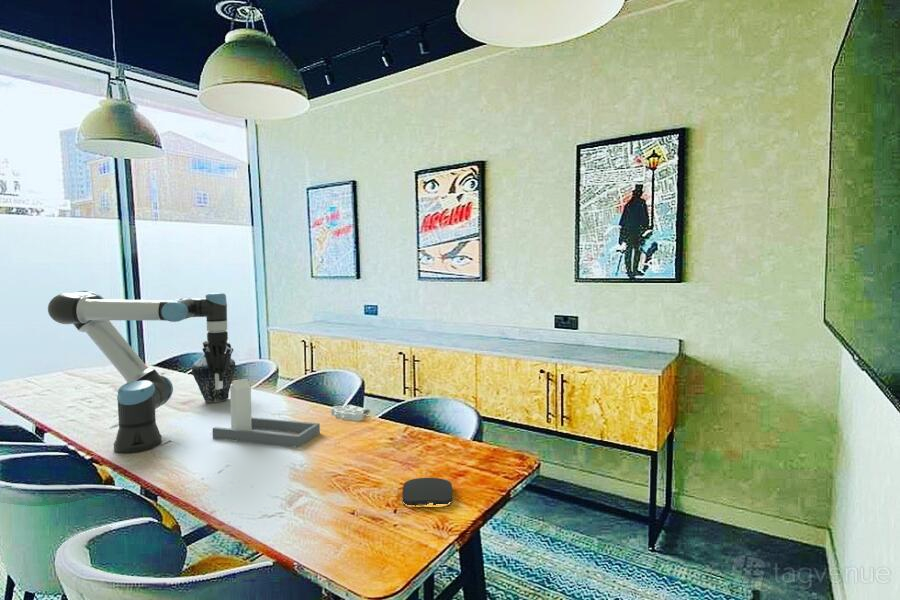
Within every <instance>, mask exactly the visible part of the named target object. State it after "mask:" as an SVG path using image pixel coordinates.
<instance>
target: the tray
mask: <svg viewBox="0 0 900 600" xmlns="http://www.w3.org/2000/svg"><path fill="white" fill-rule="evenodd" d="M320 426H321V424H320V423H318V422H307V421H296V420H288V419H287V420H285V419H284V420H283V419H273V418H265V417H252V416H251V427H252V429H259V430H270V431H279V432H269V431H259V430H252V431H250V430H240V429H231V427H230V428H229V427H218V426H214V427H212V439H215V440H216V439H218V440H225V439H226V440H225V441H235V440H236V442H247V443H256V444H264V445H274V446H282V445H284V447H291V446H296V447H295V448H300V447H301V446H303V445H305V444H306V443H307V442H309V441H310V440H312V439H313V438H315V437H317V436H318V435H319V434H321V433H320V431H321V430H320V428H321V427H320ZM280 431H281V432H288V431H290V432H289V434H288V433H280ZM298 432H301V433H298ZM291 433H298V434H291ZM317 434H318V435H317ZM314 436H315V437H314ZM308 440H309V441H308ZM302 444H303V445H302ZM299 446H300V447H299Z"/></svg>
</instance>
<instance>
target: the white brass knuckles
mask: <svg viewBox="0 0 900 600" xmlns="http://www.w3.org/2000/svg"><path fill="white" fill-rule="evenodd" d="M370 413H371V410H370V409H369V408H364V407H361V406H357V405H353V404H346V405H334V406H332V407H331V409H330V415H331V416H333V417H335V418H337V419H341V420H344V421H352V422H357V421H358V422H359V421H363V420H364V417H365V416H368V415H369V414H370Z"/></svg>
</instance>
